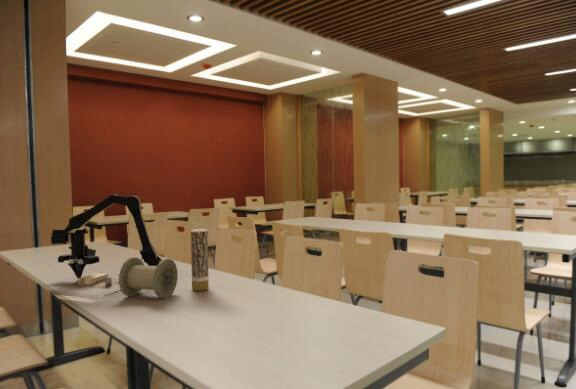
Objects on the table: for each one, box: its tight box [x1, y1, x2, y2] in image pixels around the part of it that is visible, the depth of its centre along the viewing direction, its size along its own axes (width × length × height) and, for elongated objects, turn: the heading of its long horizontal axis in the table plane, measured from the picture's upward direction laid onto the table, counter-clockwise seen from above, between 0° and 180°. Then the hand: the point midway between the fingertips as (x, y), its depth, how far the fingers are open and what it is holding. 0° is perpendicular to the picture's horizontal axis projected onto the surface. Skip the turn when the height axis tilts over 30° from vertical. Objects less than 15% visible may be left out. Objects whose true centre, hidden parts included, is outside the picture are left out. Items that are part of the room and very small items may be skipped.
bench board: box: [71, 272, 120, 289], centre depth 187 cm, size 20×15×5 cm
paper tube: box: [190, 228, 210, 292], centre depth 179 cm, size 7×7×25 cm
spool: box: [118, 256, 179, 300], centre depth 169 cm, size 16×15×15 cm
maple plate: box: [77, 272, 109, 285], centre depth 189 cm, size 6×11×2 cm, turn 160°
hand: (79, 278), depth 191 cm, fingers closed
